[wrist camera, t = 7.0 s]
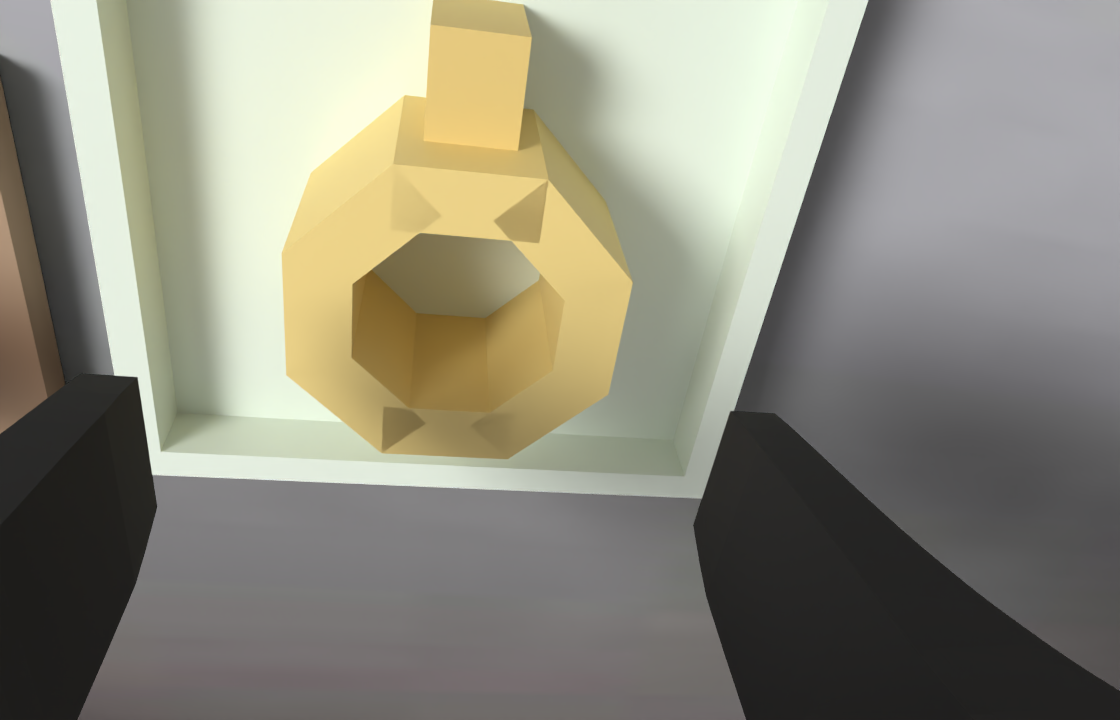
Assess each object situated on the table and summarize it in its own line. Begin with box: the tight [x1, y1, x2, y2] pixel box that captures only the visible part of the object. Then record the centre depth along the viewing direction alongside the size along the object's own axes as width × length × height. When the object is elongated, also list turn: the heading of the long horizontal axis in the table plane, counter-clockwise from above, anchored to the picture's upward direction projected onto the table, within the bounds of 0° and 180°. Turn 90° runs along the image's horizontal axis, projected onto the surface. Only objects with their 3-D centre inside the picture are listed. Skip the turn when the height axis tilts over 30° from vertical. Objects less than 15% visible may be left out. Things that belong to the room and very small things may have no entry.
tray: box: [50, 0, 868, 499], centre depth 15 cm, size 12×12×2 cm
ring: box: [281, 0, 633, 459], centre depth 14 cm, size 5×7×3 cm
